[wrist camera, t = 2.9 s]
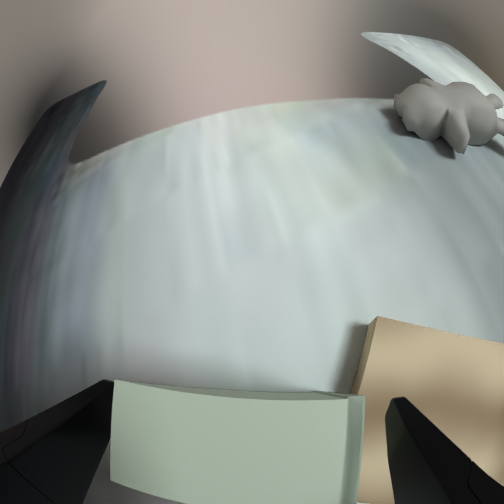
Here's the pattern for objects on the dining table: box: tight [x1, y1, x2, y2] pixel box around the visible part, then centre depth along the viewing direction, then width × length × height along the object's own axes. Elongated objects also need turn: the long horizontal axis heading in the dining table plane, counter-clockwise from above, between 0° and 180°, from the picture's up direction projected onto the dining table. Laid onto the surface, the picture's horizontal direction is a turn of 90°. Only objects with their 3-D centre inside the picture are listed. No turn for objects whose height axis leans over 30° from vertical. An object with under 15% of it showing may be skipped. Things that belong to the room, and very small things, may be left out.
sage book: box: [110, 379, 365, 504], centre depth 10 cm, size 3×6×10 cm, turn 87°
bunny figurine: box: [394, 78, 504, 154], centre depth 20 cm, size 10×5×15 cm
